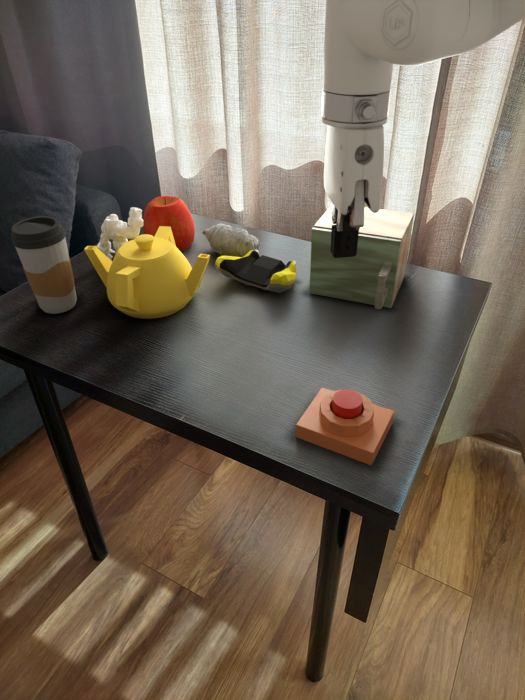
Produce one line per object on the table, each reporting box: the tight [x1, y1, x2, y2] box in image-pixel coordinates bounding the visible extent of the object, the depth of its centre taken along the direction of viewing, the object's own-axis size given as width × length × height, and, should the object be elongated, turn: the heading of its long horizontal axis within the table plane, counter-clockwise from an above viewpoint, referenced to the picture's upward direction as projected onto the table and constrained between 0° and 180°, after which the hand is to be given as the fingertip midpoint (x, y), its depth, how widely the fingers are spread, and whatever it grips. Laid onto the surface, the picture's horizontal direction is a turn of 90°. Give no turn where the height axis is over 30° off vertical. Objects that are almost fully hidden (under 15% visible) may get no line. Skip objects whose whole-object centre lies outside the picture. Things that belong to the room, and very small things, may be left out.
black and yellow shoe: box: [214, 250, 297, 294], centre depth 95 cm, size 15×6×10 cm
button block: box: [295, 387, 395, 466], centre depth 66 cm, size 10×8×4 cm
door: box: [309, 226, 402, 310], centre depth 86 cm, size 6×15×12 cm, turn 68°
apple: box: [142, 195, 196, 252], centre depth 108 cm, size 11×11×11 cm
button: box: [332, 388, 363, 419], centre depth 64 cm, size 4×4×2 cm
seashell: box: [202, 222, 262, 257], centre depth 105 cm, size 6×14×8 cm, turn 52°
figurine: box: [96, 206, 144, 261], centre depth 100 cm, size 10×5×12 cm, turn 80°
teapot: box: [83, 226, 211, 320], centre depth 90 cm, size 17×17×12 cm
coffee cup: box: [10, 215, 78, 315], centre depth 88 cm, size 8×8×15 cm
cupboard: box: [313, 204, 415, 306], centre depth 93 cm, size 11×15×13 cm
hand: (343, 254), depth 70 cm, fingers closed
